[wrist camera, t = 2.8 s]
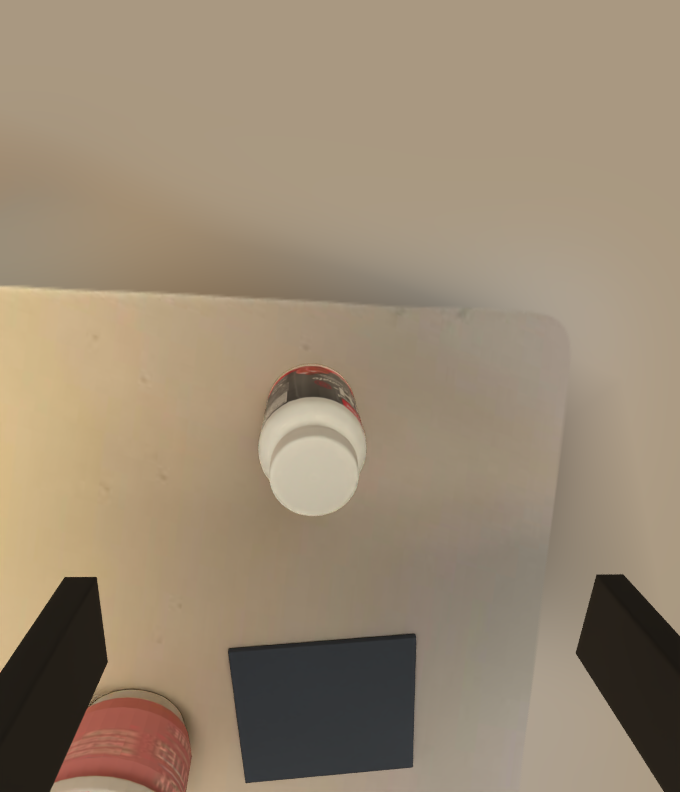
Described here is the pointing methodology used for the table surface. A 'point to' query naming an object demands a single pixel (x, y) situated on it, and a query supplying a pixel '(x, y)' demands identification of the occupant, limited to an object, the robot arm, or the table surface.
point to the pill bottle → (312, 440)
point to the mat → (325, 706)
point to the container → (128, 747)
